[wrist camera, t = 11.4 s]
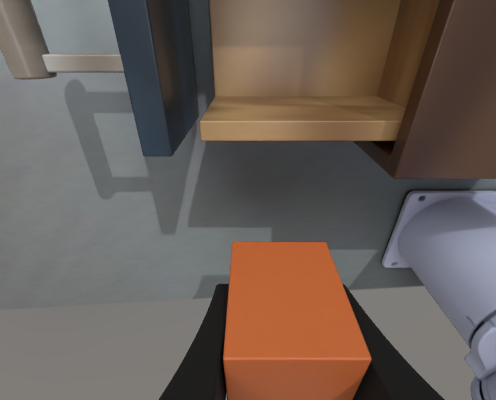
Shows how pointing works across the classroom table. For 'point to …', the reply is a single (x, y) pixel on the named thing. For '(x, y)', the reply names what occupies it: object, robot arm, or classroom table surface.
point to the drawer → (249, 66)
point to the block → (290, 325)
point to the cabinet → (449, 101)
